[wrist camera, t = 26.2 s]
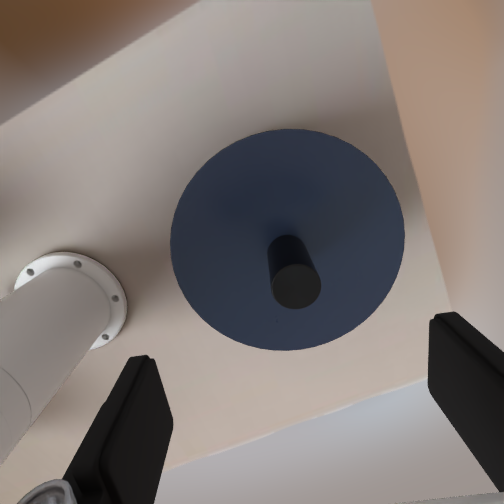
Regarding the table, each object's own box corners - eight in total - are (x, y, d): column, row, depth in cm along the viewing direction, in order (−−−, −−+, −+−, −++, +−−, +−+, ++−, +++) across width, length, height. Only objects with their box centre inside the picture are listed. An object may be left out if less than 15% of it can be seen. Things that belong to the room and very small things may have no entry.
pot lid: (201, 354, 28) (186, 420, 21) (146, 153, 22) (104, 161, 16) (400, 326, 27) (445, 385, 20) (395, 107, 21) (455, 96, 15)
